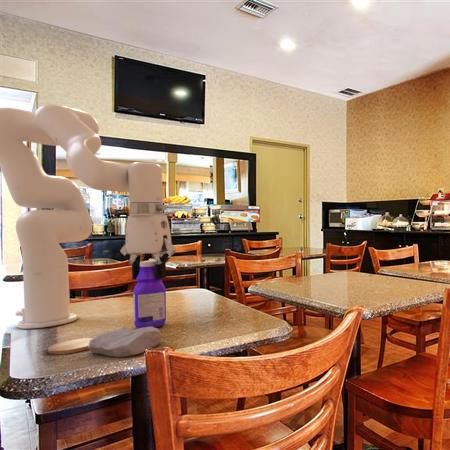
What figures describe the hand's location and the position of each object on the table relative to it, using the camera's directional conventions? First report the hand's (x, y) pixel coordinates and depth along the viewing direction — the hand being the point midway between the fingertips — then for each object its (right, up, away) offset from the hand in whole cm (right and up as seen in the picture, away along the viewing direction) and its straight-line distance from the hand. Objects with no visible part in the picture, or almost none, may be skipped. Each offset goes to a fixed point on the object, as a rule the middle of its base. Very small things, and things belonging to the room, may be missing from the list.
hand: (149, 278), depth 107 cm
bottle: (0, -13, 0) cm, 13 cm away
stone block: (+6, -14, -19) cm, 24 cm away
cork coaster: (-7, -14, -16) cm, 22 cm away
